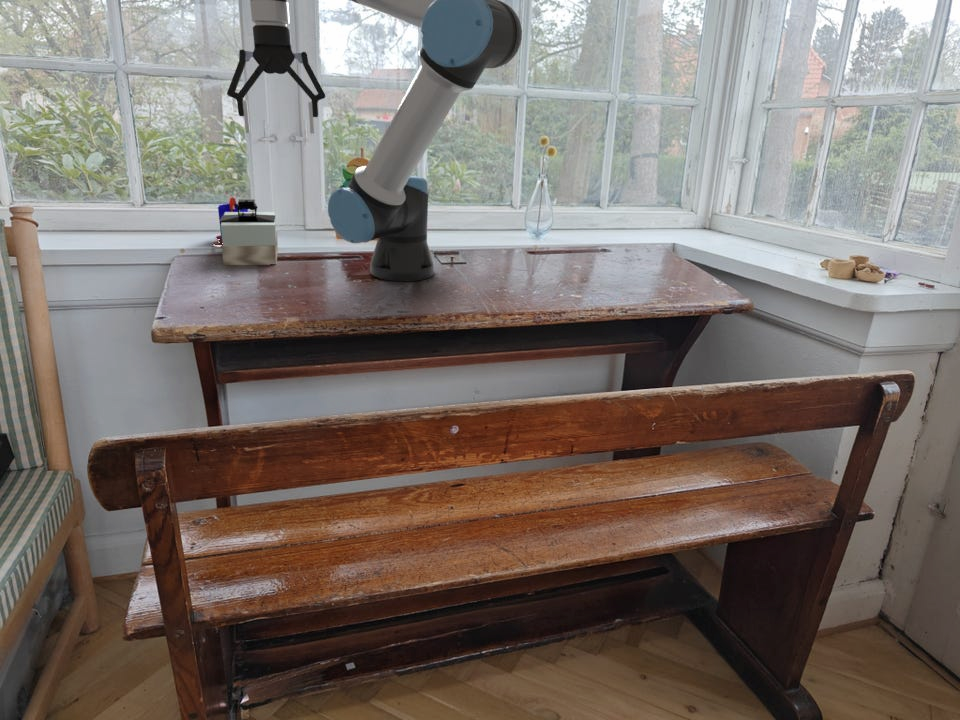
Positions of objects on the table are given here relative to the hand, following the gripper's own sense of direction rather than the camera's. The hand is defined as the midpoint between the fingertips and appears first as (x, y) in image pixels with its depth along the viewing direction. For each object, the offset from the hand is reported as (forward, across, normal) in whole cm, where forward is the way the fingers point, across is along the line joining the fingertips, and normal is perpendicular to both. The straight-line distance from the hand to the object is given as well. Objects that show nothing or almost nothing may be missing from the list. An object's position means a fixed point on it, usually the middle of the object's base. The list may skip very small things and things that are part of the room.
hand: (280, 132), depth 145 cm
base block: (+31, +10, -11) cm, 34 cm away
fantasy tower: (+30, +15, -26) cm, 42 cm away
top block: (+26, +10, -11) cm, 30 cm away
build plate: (+21, +10, -10) cm, 25 cm away
